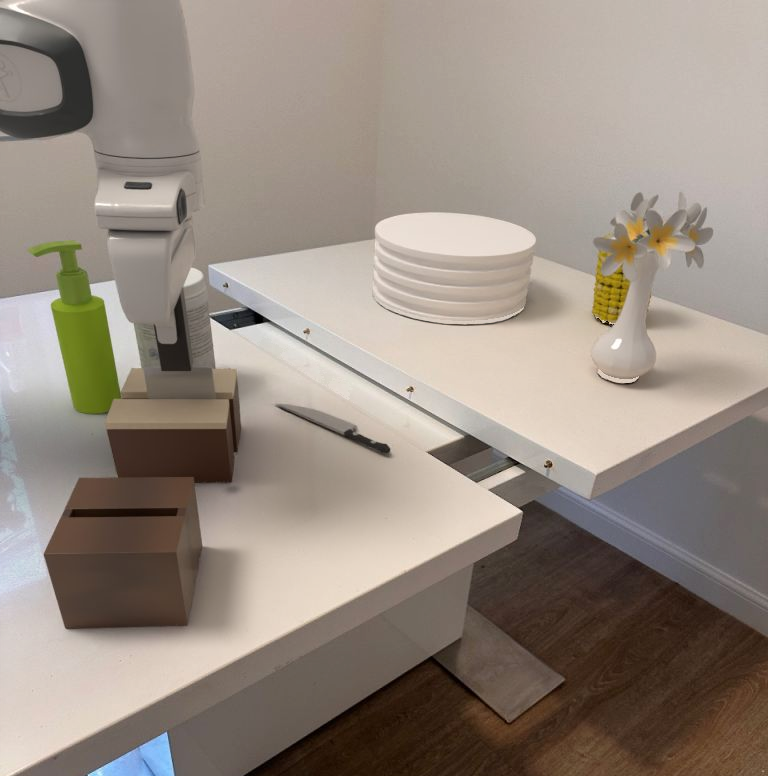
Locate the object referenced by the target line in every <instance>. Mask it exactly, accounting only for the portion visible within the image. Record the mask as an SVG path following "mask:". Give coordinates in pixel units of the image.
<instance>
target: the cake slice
mask: <svg viewBox="0 0 768 776" xmlns="http://www.w3.org/2000/svg"><path fill="white" fill-rule="evenodd" d="M104 424H105V425H104V426H105V431H106V435H107V438H108V443H109V447H110V451H111V456H112V460H113V464H114V469H115V472H116V478H118V477H194V483H195V484H197V483H198V484H199V483H205V484H206V483H207V484H208V483H232V482H233V475H234V466H235V459H236V458H235V453H234V447H233V437H232V426H231V416H230V406H229V399H114V400H113V402H112V405H111V408H110V410H109V411H108V413H107V416H106V419H105V421H104Z"/></svg>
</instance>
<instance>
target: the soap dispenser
mask: <svg viewBox="0 0 768 776" xmlns="http://www.w3.org/2000/svg"><path fill="white" fill-rule="evenodd" d="M82 250H83V248H82V244H81V243H80V242H78V241H76V240H71V239H70V240H53V241H48V242H43V243H39V244H37V245H34V246H31V247H30V248H27V250H26V251H27V252H29V254H31V255H33V256H34V257H36V258H39V257H41V256H44V255H47V254H52V253H59V254H58V255H59V258H60V263H61V268H60V269H59V270H58V271H56V273H55V277H56V278H55V279H56V281H57V286H58V291H59V296H60V297H58V298H56V299H54V300H53V301H52V302H51V303H50V308H51V313H52V317H53V323H54V327H55V331H56V336H57V340H58V344H59V348H60V354H61V357H62V363H63V366H64V370H65V375H66V380H67V384H68V389H69V393H70V397H71V403H72V407H73V409H75V410H76V411H78V412H79V413H82V414H89V415H92V414H93V415H95V414H97V415H98V414H103V413H107V412H108V413H109V410H110V408H111V405H112V402H113V400H114V399H122V397H121V388H120V382H119V376H118V370H117V365H116V359H115V354H114V348H113V343H112V337H111V331H110V326H109V321H108V317H107V315H108V314H107V310H106V304H105V301H104V299H103V298H102V297H100V296H97V295H92V289H91V286H90V279H89V274H88V271H87V270H86V269H83V268H81V267H79V263H78V257H77V253H76V251H82Z"/></svg>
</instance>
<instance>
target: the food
mask: <svg viewBox="0 0 768 776" xmlns="http://www.w3.org/2000/svg"><path fill="white" fill-rule="evenodd" d="M613 233H614V232H613ZM613 233H611V232H610V233H607V234H605V235H604V236H603V237H606V238H607V237H609V236H610V235H611V234H613ZM642 235H643V236H647V235H648V234H647V233H646V232H645V233H643V234H642ZM638 239H639V238H638ZM611 254H612V253H605V252H602V251H600V250H599V249H598V254H597V255H596V256H597V258H598V259H597V264H596V268H595V270H596V273H595V275H594V277H595V283H594V287H593V302H592V310H591V314H592V315H593V314H594V315H595V316H594V315H593V316H594V318H595V317H599V318H600V319H601V320H604V321H608V322H611V323H615V322H616V321H617V319H618V318H619V316H620V314H621V311H622V309H623V306H624V303H625V299H626V296H627V293H628V289H629V286H630V282H631V281H629V280H628V279H627V278H626V277H625V275H624V273H623V269H622V266H623V264H622V265H621V266H620V267H619V268H618V270H617V271H616V272H614V273H613V274H612V275H610V276H603V275H602V274H601V266H602V264H603V262H604V261H605V259H606V258H607V257H608V256H609V255H611ZM623 263H624V262H623ZM651 298H652V293H651V294H650V298H649V303H648V307H647V313H646V315H648V312H649V307H650V303H651ZM608 322H607V323H608Z"/></svg>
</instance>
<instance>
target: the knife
mask: <svg viewBox="0 0 768 776" xmlns="http://www.w3.org/2000/svg"><path fill="white" fill-rule="evenodd" d="M174 314H175V321H177V325H178V334H179V335H178V338H177V341H176V343H174V344H162V343H160V342H159V341H158V337H157V331H156V326H155V324H154V330H155V336H156V342H157V348H158V354H159V360H160V366H143V371H144V377H145V382H146V387H147V393H148V398H149V399H216V395H215V386H214V377H213V369H212V366H193V355H192V348H191V340H190V333H189V326H188V318H187V311H186V303H185V296H184V289H183V288H182V291H181V293H180V296H179V298H178V301H177V303H176V306H175V309H174Z"/></svg>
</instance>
